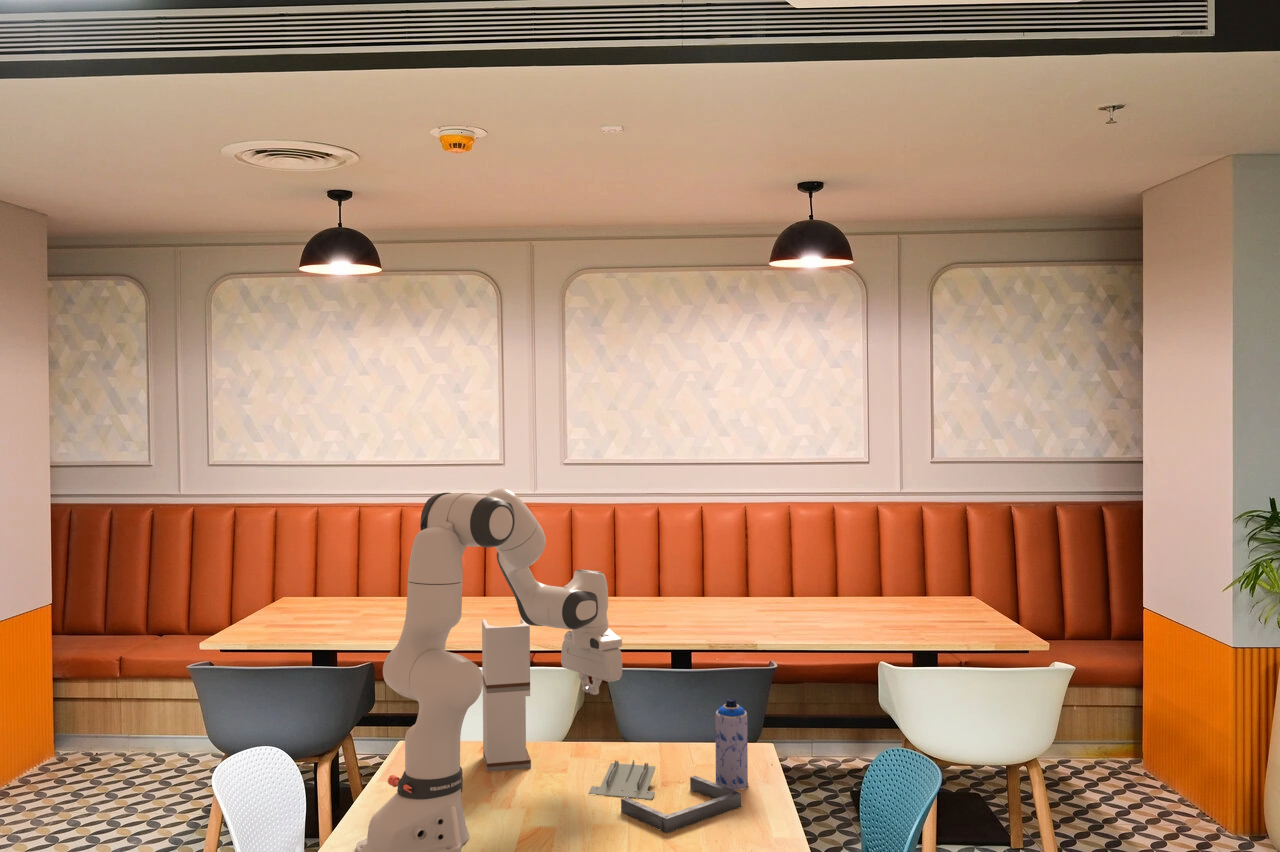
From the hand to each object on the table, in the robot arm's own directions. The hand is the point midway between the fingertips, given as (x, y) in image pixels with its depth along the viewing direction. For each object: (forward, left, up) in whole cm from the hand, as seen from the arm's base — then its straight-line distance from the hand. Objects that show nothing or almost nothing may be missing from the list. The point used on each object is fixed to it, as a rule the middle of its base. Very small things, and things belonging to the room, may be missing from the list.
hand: (590, 692), depth 254 cm
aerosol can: (+19, -29, -19) cm, 40 cm away
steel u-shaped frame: (0, -32, -19) cm, 37 cm away
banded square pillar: (-12, +19, -19) cm, 30 cm away
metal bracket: (0, -14, -20) cm, 24 cm away
